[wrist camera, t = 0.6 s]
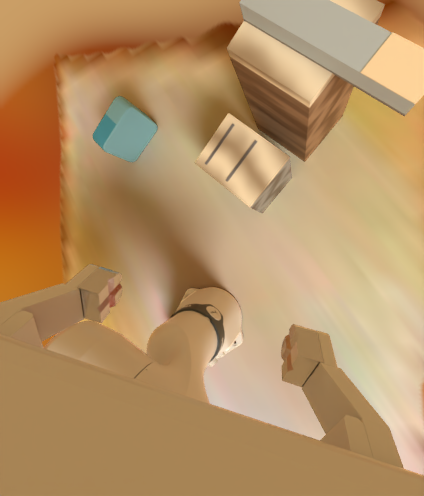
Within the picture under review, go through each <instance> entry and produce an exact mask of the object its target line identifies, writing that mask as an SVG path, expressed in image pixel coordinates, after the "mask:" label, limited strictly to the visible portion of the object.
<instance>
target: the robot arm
mask: <svg viewBox="0 0 424 496" xmlns="http://www.w3.org/2000/svg"><path fill="white" fill-rule="evenodd" d="M121 280H122V274H121V273H118V272H115V271H112V270H109V269H106V268H103V267H99V266H96V265H93V264H90V265H87V266H86V267H85V268H84V269H83V270H81V271H80V272H79V273H78V274H77V275H76V276H74V277H73V278H72V279H71V280H70V281H69V282H67V283H66V284H59V285H56V286H53V287H49V288H46V289H43V290H39V291H36V292H33V293H30V294H27V295H23V296H20V297H17V298H13V299H10V300H7V301H4V302H1V303H0V496H424V475H421V474H418V473H415V472H412V471H409V470H406V469H404V468H403V465H402V462H401V459H400V457H399V454H398V451H397V448H396V445H395V442H394V440H393V437H392V434H391V431H390V428H389V427H388V426H387V424H386V423H385V422H384V421H383V419H382V418H381V417H380V416H379V415H378V413H377V412H376V411H375V410H374V408H373V407H372V406H371V405H370V404H369V402H368V401H367V400H366V399H365V397H364V396H363V395H362V394H361V393H360V391H359V390H358V389H357V388H356V387H355V385H354V384H353V383H352V382H351V380H350V379H349V378H348V377H347V376H346V374H345V373H344V372H343V371H342V369H340V368H337V364H336V360H335V356H334V352H333V348H332V344H331V340H330V336H329V335H328V334H327V333H323V332H320V331H315V330H312V329H309V328H305V327H302V326H298V325H295V324H293V325H292V326H291V327H290V329H289V335H287V336H286V337H285V339H284V341H283V344H282V350H281V357H282V359H283V360H284V363H283V365H282V381H285V382H288V383H291V384H294V385H297V386H300V387H302V390H303V392H304V394H305V395H306V397H307V399H308V401H309V403H310V405H311V407H312V409H313V411H314V413H315V414H316V416H317V418H318V420H319V422H320V424H321V426H322V428H323V430H324V431H325V433H326V435H325V436H324V437H323V438H322V439H321V440H320V441H319V440H316V439H313V438H310V437H307V436H304V435H301V434H298V433H295V432H292V431H289V430H286V429H283V428H280V427H277V426H274V425H271V424H268V423H265V422H262V421H259V420H256V419H253V418H250V417H247V416H244V415H241V414H239V413H236V412H233V411H230V410H227V409H224V408H221V407H218V406H215V405H212V404H210V403H209V400H208V397H207V394H206V390H205V386H204V378H203V374H204V371H205V369H206V367H207V366H208V365H209V366H210V367H212V366H213V365H214V364H215V363H216V362H217V361H218V360H217V359H219V358H220V357H223V356H224V355H225V354H226V353H228V352H230V351H231V350H233V349H234V348H236V347H237V346H239V345H240V344H241V343H242V342H243V340H244V337H243V333H242V330H241V324H242V313H241V309H240V307H239V304H238V303H237V301H236V300H235V298H234V297H233V296H232V295H231V294H229V293H228V292H227V291H225V290H223V289H220V288H216V287H208V288H203V289H196V288H189V289H188V290H187V291H186V292H185V294H184V296H183V298H182V300H181V302H180V304H179V306H178V308H177V310H176V312H175V313H174V314H173V315H172V316H171V318H170V319H169V320H167V321H166V322H164V323H163V324H161V325H160V326H159V327H157V328H156V329H155V330H154V331H153V333H152V334H151V336H150V338H149V340H148V344H147V354H145V353H144V352H143V351H142V350H140V349H139V348H138V347H137V346H135V345H134V344H133V343H132V342H130V341H129V340H128V339H127V338H125V337H124V336H123V335H122V334H120V333H118V332H116V331H114V330H112V329H110V328H108V327H106V326H104V325H102V324H99V323H102V322H103V320H104V319H105V318H106V317H107V315H108V314H109V313H110V308H111V307H113V306H115V305H116V304H117V303H118V301H119V299H120V297H121V294H122V286H121V284H120V282H121ZM188 295H189V296H188ZM84 318H85V319H89V320H92V321H83V322H79V321H81V320H83V319H84ZM95 321H96V322H95ZM78 322H79V323H78ZM97 322H99V323H97ZM57 333H58V334H57ZM55 334H57V335H56V336H54V337H53V338H52V339H51V340H50V341H49V342H48V343H47V345H46V346H45V347H44V348H43V345H42V341H44V340H46V339H47V338H49V337H51V336H53V335H55ZM235 341H236V343H234V342H235Z"/></svg>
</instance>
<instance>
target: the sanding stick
mask: <svg viewBox="0 0 424 496" xmlns="http://www.w3.org/2000/svg"><path fill="white" fill-rule="evenodd" d="M240 7H241V11H242V15H243V19H244V21H245V22H247V23H249V24H250V25H252V26H254V27H255V28H257V29H259V30H260V31H262V32H264V33H266V34H267V35H269V36H271V37H272V38H274V39H276V40H277V41H279V42H281V43H282V44H284V45H286V46H287V47H289V48H291V49H292V50H294V51H296V52H297V53H299V54H301V55H302V56H304V57H306V58H307V59H309V60H311V61H313V62H314V63H316V64H318V65H319V66H321V67H323V68H324V69H326V70H328V71H329V72H331V73H333V74H334V75H336V76H338V77H339V78H341V79H343V80H344V81H346V82H348V83H349V84H351V85H353V86H354V87H356V88H358V89H360V90H361V91H363V92H365V93H366V94H368V95H370V96H371V97H373V98H375V99H376V100H378V101H380V102H381V103H383V104H385V105H386V106H388V107H390V108H391V109H393V110H395V111H396V112H398V113H400V114H401V115H403V116H405V115H406V114H407V113H408V112H409V111H410V109H411V108H412V107H413V106H414V105H415V104H416V103H417V102H418V101H419V100H420V98H421V97H422V96H423V95H424V48H422V47H420V46H418V45H416V44H415V43H413V42H411V41H409V40H407V39H405V38H403V37H401V36H399V35H397V34H395V33H393V32H392V33H391V32H389V31H388V30H386V29H384V28H382V27H380V26H378V25H376V24H374V23H372V22H370V21H368V20H366V19H365V18H363V17H361V16H359V15H357V14H355V13H353V12H351V11H349V10H347V9H345V8H343V7H341V6H340V5H338V4H336V3H334V2H332V1H330V0H241V1H240Z"/></svg>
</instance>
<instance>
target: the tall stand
mask: <svg viewBox="0 0 424 496" xmlns="http://www.w3.org/2000/svg"><path fill="white" fill-rule="evenodd" d="M330 1H332V2H334V3H336V4H338V5H340V6H341V7H343V8H345V9H347V10H349V11H351V12H353V13H355V14H357V15H359V16H361V17H363V18H365V19H366V20H368V21H370V22H372V23H374V24H376V25H377V24H378V21H379V18H380V16H381V13H382V10H383V8H384V5H385V4H383V3H381V2H379V1H377V0H330ZM227 51H228V53H229V56H230V58H231V61H232V63H233V66H234V68H235V71H236V74H237V76H238V79H239V81H240V84H241V86H242V89H243V91H244V94H245V96H246V99H247V101H248V104H249V106H250V109H251V111H252V114H253V117H254V119H255V122H256V124H257V127H258V129H259V130H261V131H262V132H263V133H265V134H266V135H268V136H269V137H270V138H272V139H273V140H275V141H276V142H278V143H279V144H280V145H282V146H283V147H285V148H286V149H287V150H289V151H290V152H292V153H293V154H294V155H296V156H297V157H299V158H300V159H302V160H303V161H304V162H305V161H306V160H307V158H308V157H309V156H310V155H311V154H312V152H313V151H314V150H315V149H316V147H317V146H318V145H319V144H320V143H321V141H322V140H323V139H324V138H325V137H326V135H327V134H328V133H329V132H330V130H331V129H332V128H333V127H334V126H335V124H336V123H337V122H338V121H339V119H340V118H341V117H342V116H343V113H344V110H345V108H346V105H347V103H348V100H349V97H350V95H351V92H352V89H353V87H354V86H353V85H351V84H349V83H348V82H346V81H344V80H343V79H341V78H339V77H338V76H336V75H334V74H333V73H331V72H329V71H328V70H326V69H324V68H323V67H321V66H319V65H318V64H316V63H314V62H313V61H311V60H309V59H307V58H306V57H304V56H302V55H301V54H299V53H297V52H296V51H294V50H292V49H291V48H289V47H287V46H286V45H284V44H282V43H281V42H279V41H277V40H276V39H274V38H272V37H271V36H269V35H267V34H266V33H264V32H262V31H260V30H259V29H257V28H255V27H254V26H252V25H250V24H249V23H247V22H245V21H243V23H242V25H241V26H240V28H239V29H238V31H237V33H236V34H235V36H234V37H233V39H232V40H231V42H230V44H229V45H228V47H227Z"/></svg>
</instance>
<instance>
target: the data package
mask: <svg viewBox="0 0 424 496" xmlns="http://www.w3.org/2000/svg"><path fill="white" fill-rule="evenodd" d="M156 131H157V125H156V123H154V122H153V121H152V120H151V119H150V118H149V117H148V116H147V115H146V114H145V113H143V112H142V111H141V110H139V109H138V108H137V107H135V106H134V105H133V104H132V103H130V102H129V101H128V100H126V99H125V98H124V97H122V96H118V97H116V98H115V99H114V100H113V102H112V104H111V105H110V107H109V109H108V110H107V112H106V114H105V115H104V117H103V118H102V120H101V122H100V123H99V125H98V127H97V128H96V130H95V132H94V133H93V139H94V141H95V142H96V143H97V144H98V145H99V146H100V147H101V148H102V149H103V150H104V151H105V152H107V153H109V154H112V155H114V156H117V157H119V158H122V159H124V160H127V161H129V162H134V161H136V160H137V159H138V157H139V156H140V154H141V153H142V152H143V150H144V149H145V147H146V146H147V144H148V143H149V141H150V140H151V139H152V137H153V136H154V134H155V133H156Z"/></svg>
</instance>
